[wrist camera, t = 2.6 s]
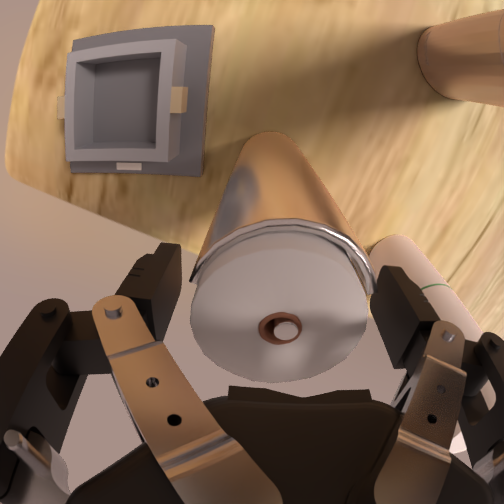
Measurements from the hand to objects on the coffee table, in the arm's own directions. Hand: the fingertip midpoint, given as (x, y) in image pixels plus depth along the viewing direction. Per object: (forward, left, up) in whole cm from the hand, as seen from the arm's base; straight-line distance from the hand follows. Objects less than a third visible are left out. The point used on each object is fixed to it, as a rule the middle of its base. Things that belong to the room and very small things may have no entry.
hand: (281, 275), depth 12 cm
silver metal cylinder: (0, 0, -22) cm, 22 cm away
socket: (+15, -6, -22) cm, 27 cm away
